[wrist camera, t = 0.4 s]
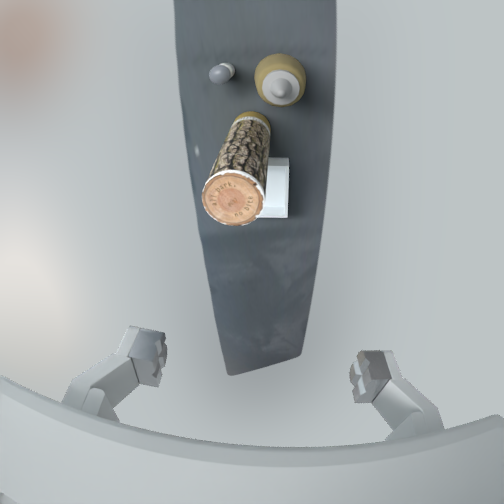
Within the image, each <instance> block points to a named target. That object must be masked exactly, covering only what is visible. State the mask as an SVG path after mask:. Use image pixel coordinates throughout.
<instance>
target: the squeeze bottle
mask: <svg viewBox="0 0 504 504" xmlns="http://www.w3.org/2000/svg"><path fill="white" fill-rule="evenodd" d="M254 79H255V84H256V87H257V91H258V94H259V95H260V97H261V98H262V99H263V100H264V101H265V102H267V103H268V104H270V105H272V106H277V107H286V106H291V105H293V104H294V103H296V102H297V101H299V100H300V98H301V97H302V95H303V94H304V90H305V85H306V75H305V70H304V68H303V66H302V65H301V64H300V62H299V61H298V60H297V59H295V58H293V57H292V56H290V55H286V54H280V53H278V54H273V55H269V56H267V57H266V58H264V59H263V60H261V61H260V63H259V64H258V66H257V67H256V69H255V76H254Z"/></svg>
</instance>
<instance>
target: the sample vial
mask: <svg viewBox="0 0 504 504" xmlns="http://www.w3.org/2000/svg"><path fill="white" fill-rule="evenodd" d="M234 73H235V68H234V66H233V65H232V64H230V63H222V64H220V65H217V66H215V67H213V68H212V69H211V71H210V73H209V77H210V80H211V81H212V82H213V83H215V84H218V85H221V84H225V83H226V82H227V81H228V80H229V79H230V78H231V77H232V76H233V75H234Z"/></svg>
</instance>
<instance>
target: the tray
mask: <svg viewBox="0 0 504 504" xmlns="http://www.w3.org/2000/svg"><path fill="white" fill-rule="evenodd" d="M288 188H289V158H281V157H269V159H268V171H267V184H266V196H265V205H264V208H263V211H262V213H261V214H260V215H259V217H274V218H287V216H288Z"/></svg>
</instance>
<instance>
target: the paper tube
mask: <svg viewBox="0 0 504 504" xmlns="http://www.w3.org/2000/svg"><path fill="white" fill-rule="evenodd" d="M270 131H271V128H270V124H269V122H268V120H267V119H266V117H264V116H263V115H262V114H260V113H257V112H252V111H251V112H245V113H242V114H241V115H239V116H238V117H237V118H236V119H235V121H234V123H233V125H232V127H231V129H230V131H229V133H228V135H227V137H226V139H225V141H224V143H223V146H222V148H221V150H220V152H219V154H218V156H217V159H216V161H215V163H214V165H213V168H212V170H211V172H210V174H209V177H208V179H207V181H206V183H205V186H204V189H203V192H202V202H203V206H204V208H205V210H206V211H207V213H208V214H209V215H210V216H211V217H212V218H214V219H215V220H217V221H218V222H220V223H223V224H226V225H231V226H240V225H245V224H248V223H250V222H252V221H254V220H255V219H257V218H258V217H259V215H260V214H261V213H262V211H263V208H264V205H265V196H266V184H267V171H268V159H269V146H270Z"/></svg>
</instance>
